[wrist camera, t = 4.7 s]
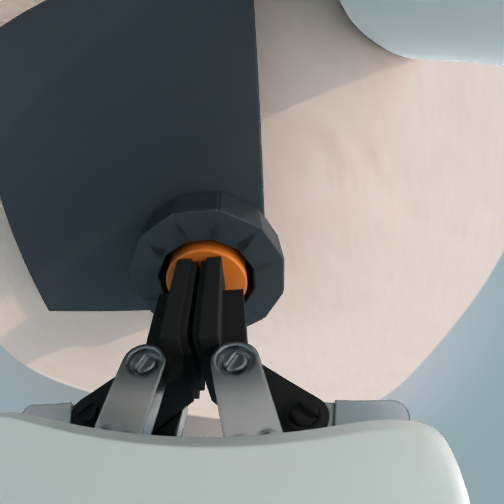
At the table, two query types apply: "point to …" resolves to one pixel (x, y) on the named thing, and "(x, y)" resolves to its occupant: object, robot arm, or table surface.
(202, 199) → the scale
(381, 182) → the table surface
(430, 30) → the can
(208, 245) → the button
